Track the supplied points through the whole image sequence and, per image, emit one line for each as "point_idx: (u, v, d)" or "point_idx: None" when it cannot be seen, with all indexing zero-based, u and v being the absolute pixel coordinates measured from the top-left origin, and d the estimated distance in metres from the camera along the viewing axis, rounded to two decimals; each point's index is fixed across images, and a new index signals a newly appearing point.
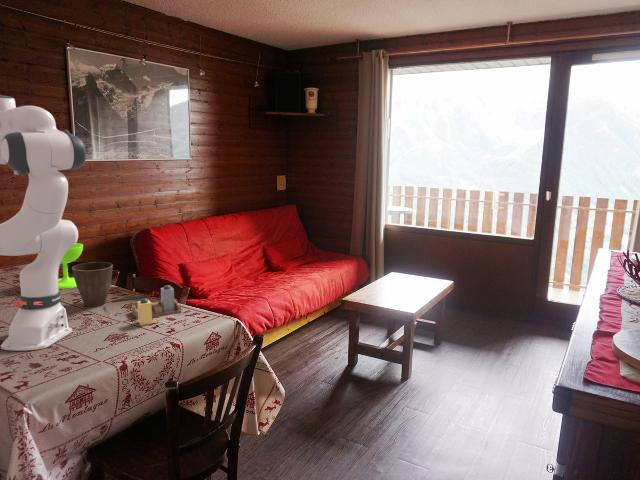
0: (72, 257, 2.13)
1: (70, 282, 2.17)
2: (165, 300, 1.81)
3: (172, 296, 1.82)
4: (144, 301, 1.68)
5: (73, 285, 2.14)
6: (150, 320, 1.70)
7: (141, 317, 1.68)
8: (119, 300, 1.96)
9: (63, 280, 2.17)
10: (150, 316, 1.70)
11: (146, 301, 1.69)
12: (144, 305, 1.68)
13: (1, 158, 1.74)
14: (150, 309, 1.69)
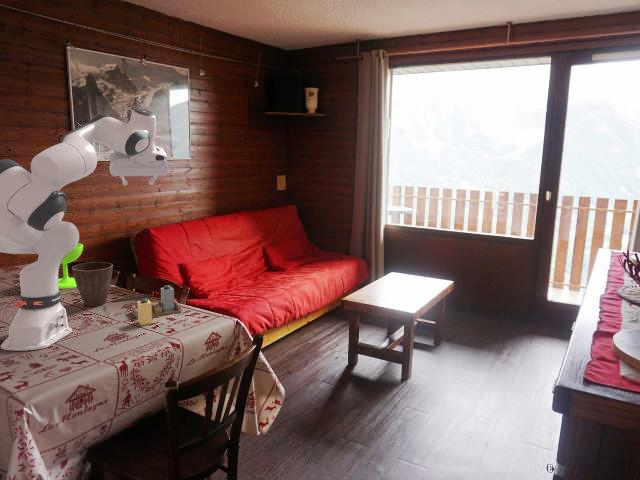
0: (72, 257, 2.13)
1: (70, 282, 2.17)
2: (165, 300, 1.81)
3: (172, 296, 1.82)
4: (144, 301, 1.68)
5: (73, 285, 2.14)
6: (150, 320, 1.70)
7: (141, 317, 1.68)
8: (119, 300, 1.96)
9: (63, 280, 2.17)
10: (150, 316, 1.70)
11: (146, 301, 1.69)
12: (144, 305, 1.68)
13: (138, 170, 1.71)
14: (150, 309, 1.69)
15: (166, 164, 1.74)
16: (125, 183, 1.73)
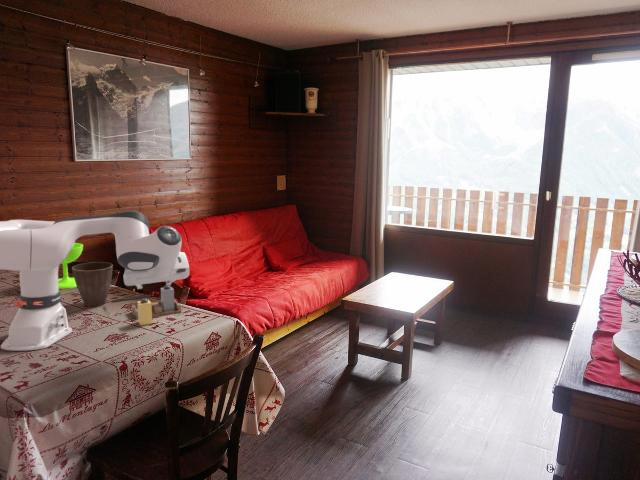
0: (72, 257, 2.13)
1: (70, 282, 2.17)
2: (165, 300, 1.81)
3: (172, 296, 1.82)
4: (144, 301, 1.68)
5: (73, 285, 2.14)
6: (150, 320, 1.70)
7: (141, 317, 1.68)
8: (119, 300, 1.96)
9: (63, 280, 2.17)
10: (150, 316, 1.70)
11: (146, 301, 1.69)
12: (144, 305, 1.68)
13: (156, 279, 1.52)
14: (150, 309, 1.69)
15: (187, 272, 1.55)
16: (140, 287, 1.55)
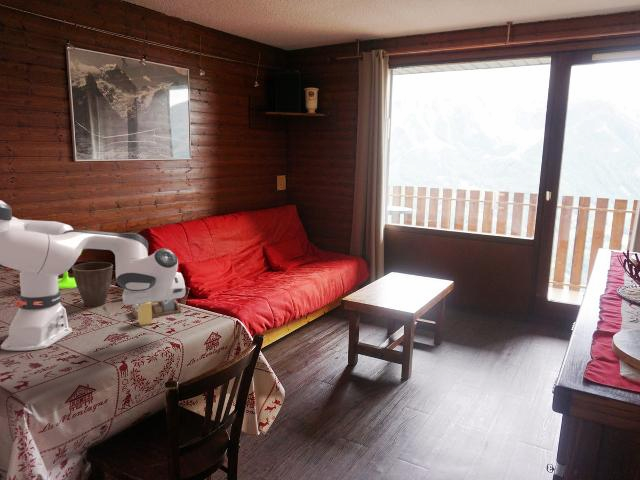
0: None
1: (70, 282, 2.17)
2: None
3: None
4: None
5: (73, 285, 2.14)
6: (150, 320, 1.70)
7: (141, 317, 1.68)
8: (119, 300, 1.96)
9: (63, 280, 2.17)
10: (150, 316, 1.70)
11: None
12: (144, 305, 1.68)
13: (153, 298, 1.59)
14: (150, 309, 1.69)
15: (183, 292, 1.61)
16: (138, 306, 1.61)
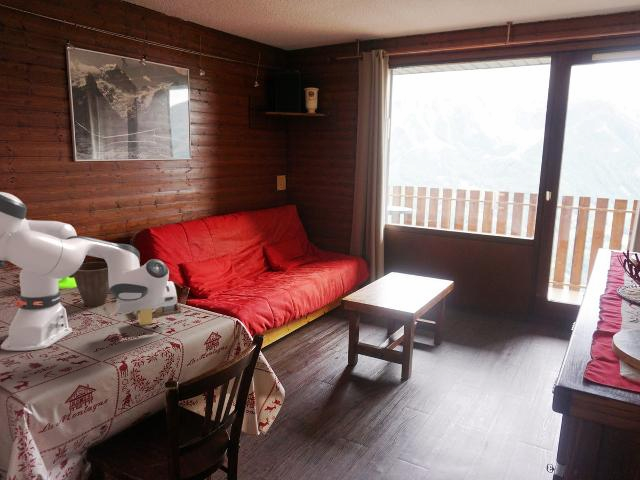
0: None
1: (70, 282, 2.17)
2: None
3: None
4: None
5: (73, 285, 2.14)
6: (150, 320, 1.70)
7: (141, 317, 1.68)
8: None
9: (63, 280, 2.17)
10: (150, 316, 1.70)
11: None
12: None
13: (145, 306, 1.64)
14: (150, 309, 1.69)
15: (175, 300, 1.67)
16: (137, 313, 1.68)
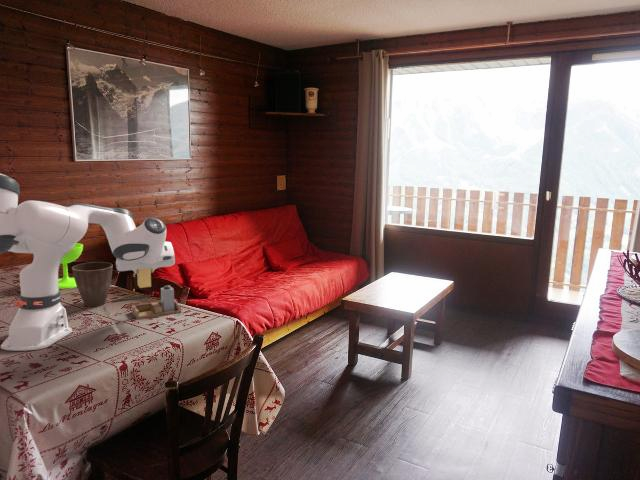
0: (72, 257, 2.13)
1: (70, 282, 2.17)
2: (165, 300, 1.81)
3: (172, 296, 1.82)
4: None
5: (73, 285, 2.14)
6: (149, 280, 1.76)
7: (140, 277, 1.74)
8: (119, 300, 1.96)
9: (63, 280, 2.17)
10: (149, 276, 1.76)
11: None
12: None
13: (144, 265, 1.70)
14: (149, 269, 1.75)
15: (173, 260, 1.73)
16: (136, 272, 1.74)
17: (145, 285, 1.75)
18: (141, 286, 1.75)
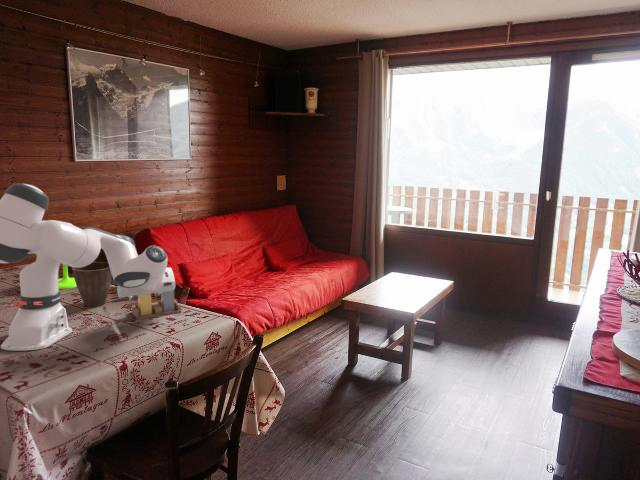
0: None
1: (70, 282, 2.17)
2: (165, 300, 1.81)
3: (172, 296, 1.82)
4: None
5: (73, 285, 2.14)
6: (150, 308, 1.78)
7: (141, 305, 1.76)
8: (119, 300, 1.96)
9: (63, 280, 2.17)
10: (150, 305, 1.78)
11: None
12: (144, 294, 1.76)
13: (145, 291, 1.73)
14: (150, 298, 1.78)
15: (173, 285, 1.75)
16: (131, 298, 1.75)
17: (146, 314, 1.78)
18: (142, 315, 1.77)
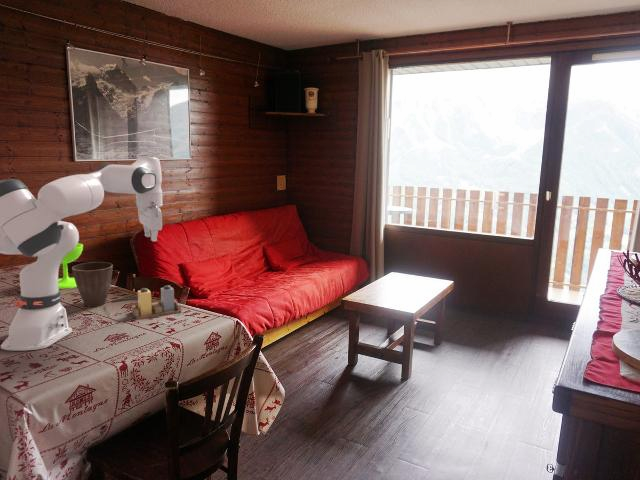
0: (72, 257, 2.13)
1: (70, 282, 2.17)
2: (165, 300, 1.81)
3: (172, 296, 1.82)
4: (144, 290, 1.77)
5: (73, 285, 2.14)
6: (150, 308, 1.78)
7: (141, 305, 1.76)
8: (119, 300, 1.96)
9: (63, 280, 2.17)
10: (150, 305, 1.78)
11: (146, 290, 1.77)
12: (144, 294, 1.76)
13: None
14: (150, 298, 1.78)
15: None
16: None
17: (146, 314, 1.78)
18: (142, 315, 1.77)
